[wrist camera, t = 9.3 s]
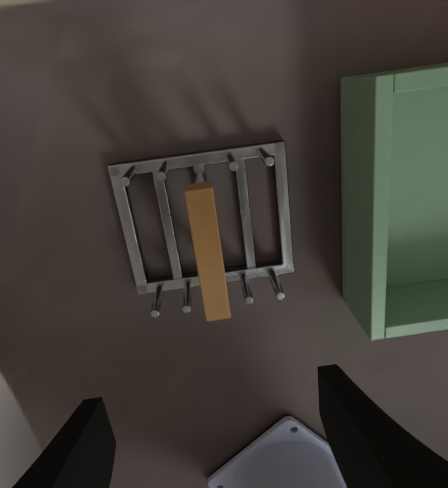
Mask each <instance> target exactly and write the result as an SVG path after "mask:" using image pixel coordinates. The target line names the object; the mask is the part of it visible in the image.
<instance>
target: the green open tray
mask: <svg viewBox="0 0 448 488" xmlns="http://www.w3.org/2000/svg"><path fill="white" fill-rule="evenodd" d="M340 117H341V194H342V271H343V300H344V301H345V303H346V304H347V306H348V307H349V309H350V310H351V312H352V313H353V315H354V316H355V318H356V319H357V321H358V322H359V324H360V325H361V327H362V328H363V330H364V331H365V333H366V334H367V336H368V337H369V339H370V340H378V339H384V338H391V337H398V336H405V335H412V334H419V333H426V332H433V331H440V330H447V329H448V63H441V64H434V65H427V66H419V67H412V68H405V69H398V70H391V71H383V72H376V73H369V74H362V75H355V76H348V77H341V78H340Z"/></svg>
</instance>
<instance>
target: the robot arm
mask: <svg viewBox="0 0 448 488" xmlns="http://www.w3.org/2000/svg"><path fill="white" fill-rule="evenodd" d="M318 387H319V411H320V417H321V420H322V424H323V427H324V430H325V434H326V437H327V440H328V442H326V441H325V440H323V439H322V438H321V437H319V436H318V435H317V434H315V433H314V432H312V431H311V430H310V429H308V428H307V427H306V426H304V425H303V424H302V423H300V422H299V421H297V420H296V419H295V418H293V417H291V416H286V417H284V418H282V419H281V420H280V421H278V422H277V423H276V424H275V425H273V426H272V427H271V428H270V429H268V430H267V431H266V432H265V433H264V434H262V435H261V436H260V437H259V438H257V439H256V440H255V441H254V442H252V443H251V444H250V445H249V446H247V447H246V448H245V449H244V450H242V451H241V452H240V453H239V454H237V455H236V456H235V457H234V458H232V459H231V460H230V461H229V462H227V463H226V464H225V465H224V466H222V467H221V468H220V469H219V470H217V471H216V472H215V473H214V474H212V475H211V476H210V477H209V478H208V487H210V488H448V461H446V460H445V459H443V458H442V457H441V456H439V455H438V454H436V453H435V452H433V451H432V450H431V449H429V448H428V447H427V446H425V445H424V444H423V443H421V442H420V441H419V440H417V439H416V438H415V437H413V436H412V435H411V434H410V433H408V432H407V431H406V430H405V429H404V428H402V427H401V426H400V425H399V424H398V423H396V422H395V421H394V420H393V419H392V418H391V417H389V416H388V415H387V414H386V413H385V412H384V411H383V410H382V409H381V408H380V407H378V406H377V405H376V404H375V403H374V402H373V401H372V400H371V399H370V398H369V397H368V396H367V395H366V394H365V393H364V392H363V391H362V390H361V389H360V388H359V387H358V386H357V385H356V384H355V383H354V382H353V381H352V380H351V379H350V378H349V377H348V376H347V375H346V374H345V373H344V371H343V370H342V369H341V368H340V367H339V366H338V365H336V364H334V365H327V366H320V367H318ZM292 427H294V428H292ZM115 448H116V440H115V437H114V434H113V431H112V428H111V424H110V421H109V418H108V415H107V412H106V408H105V405H104V402H103V399H102V397H99V398H92V399H85V400H83V401H82V403H81V404H80V405H79V406H78V407H77V409H76V410H75V411H74V413H73V414H72V415H71V417H70V418H69V419H68V420H67V422H66V423H65V424H64V426H63V427H62V428H61V429H60V431H59V432H58V433H57V435H56V436H55V437H54V438H53V440H52V441H51V442H50V443H49V445H48V446H47V447H46V448H45V450H44V451H43V452H42V453H41V455H40V456H39V457H38V458H37V460H36V461H35V462H34V463H33V464H32V466H31V467H30V468H29V469H28V470H27V471H26V472H25V473H24V475H23V476H22V477H21V478H20V479H19V481H18V482H17V483H16V484H15V485H14V486H13V487H12V488H109V485H110V481H111V477H112V471H113V464H114V456H115Z"/></svg>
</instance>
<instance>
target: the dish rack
mask: <svg viewBox="0 0 448 488" xmlns="http://www.w3.org/2000/svg"><path fill="white" fill-rule="evenodd" d="M259 157H260V158H261V160H262V161H263V162H264V163H265V164H266V165H267V166H272V165H273V169H274V182H275V195H276V208H277V220H278V233H279V246H280V259H281V260H278V261H271V262H264V263H257V264H256V261H255V252H254V242H253V233H252V223H251V214H250V204H249V195H248V185H247V176H246V166H245V159H252V158H259ZM223 162H227V164H228V167H229V169H230V170H231V171H235V173H236V182H237V190H238V199H239V207H240V216H241V225H242V233H243V242H244V250H245V259H246V265H243V266H236V267H229V268H224V262H223V254H222V247H221V240H220V233H219V226H218V219H217V212H216V205H215V198H214V190H213V183H212V182H211V181H209V182H207V180H206V174H205V170H204V165H208V164H216V163H223ZM187 167H194V181H193V184H188V185H185V191H184V195H185V201H186V207H187V213H188V218H189V224H190V230H191V236H192V242H193V248H194V254H195V259H196V265H197V271H198V272H193V273H186V274H182V268H181V263H180V258H179V252H178V247H177V242H176V236H175V231H174V226H173V220H172V215H171V210H170V204H169V199H168V194H167V188H166V183H165V179H166V176H167V173H168V170H172V169H180V168H187ZM108 171H109V175H110V179H111V183H112V188H113V192H114V196H115V200H116V204H117V208H118V212H119V217H120V221H121V225H122V229H123V233H124V237H125V241H126V246H127V250H128V254H129V258H130V262H131V266H132V270H133V274H134V279H135V283H136V287H137V291H138V294H146V293H153V292H155V295H154V300H153V305H152V310H151V316H152V317H158V316H159V313H160V307H161V301H162V295H163V291H167V290H174V289H181V288H184V291H183V305H182V311H183V312H184V313H188V312H190V310H191V287H195V286H200V289H201V295H202V300H203V306H204V312H205V318H206V321H214V320H221V319H228V318H231V311H230V304H229V297H228V290H227V283H226V282H231V281H238V280H241V285H242V289H243V294H244V299H245V302H246V303H247V304H251V303H252V302H253V296H252V292H251V288H250V284H249V280H248V279H252V278H259V277H266V276H269V278H270V281H271V284H272V286H273V289H274V292H275V295H276V297H277V299H279V300H281V299H283V298H284V297H285V294H284V292H283V290H282V287H281V285H280V282H279V280H278V277H277V275H280V274H287V273H294V263H293V249H292V234H291V218H290V203H289V187H288V172H287V157H286V142H285V141H284V140H278V141H271V142H263V143H256V144H249V145H242V146H234V147H227V148H220V149H213V150H206V151H198V152H191V153H184V154H177V155H170V156H162V157H155V158H148V159H141V160H134V161H126V162H119V163H112V164H109V165H108ZM151 172H152V174H153V179H154V184H155V189H156V194H157V199H158V204H159V209H160V214H161V219H162V224H163V229H164V234H165V239H166V244H167V249H168V255H169V260H170V265H171V270H172V276H165V277H158V278H151V279H148V276H147V272H146V268H145V263H144V259H143V254H142V250H141V246H140V241H139V237H138V232H137V228H136V223H135V219H134V215H133V210H132V206H131V201H130V197H129V193H128V188H127V186H128V185H129V184H130V182H131V181H132V179H133V178H134V177H135V175H136V174H144V173H151Z"/></svg>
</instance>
